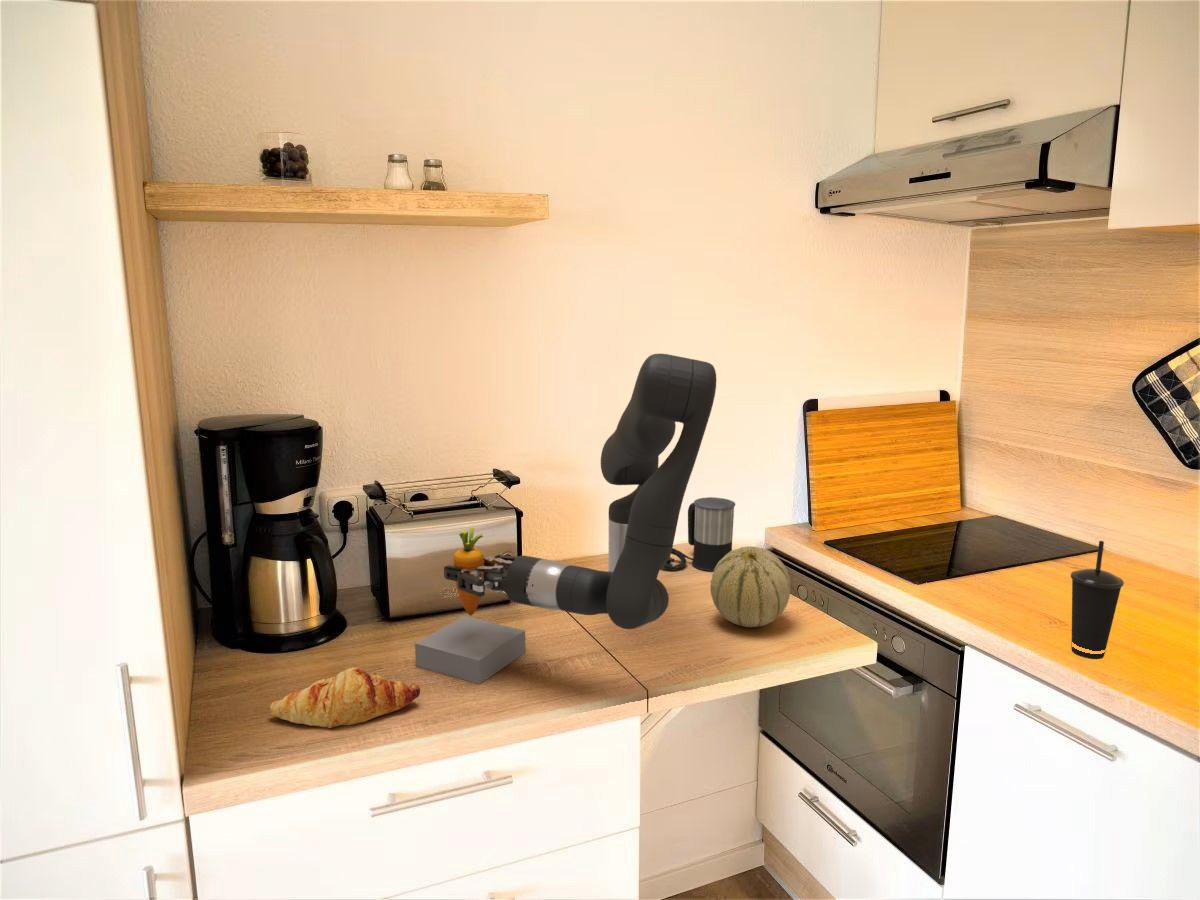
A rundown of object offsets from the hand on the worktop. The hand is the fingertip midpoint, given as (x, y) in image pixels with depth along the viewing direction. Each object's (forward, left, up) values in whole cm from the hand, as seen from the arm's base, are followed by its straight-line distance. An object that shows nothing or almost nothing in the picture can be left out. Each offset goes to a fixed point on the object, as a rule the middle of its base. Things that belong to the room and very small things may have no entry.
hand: (456, 567), depth 134 cm
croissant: (+23, -3, -16) cm, 28 cm away
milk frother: (-62, +18, -16) cm, 67 cm away
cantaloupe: (-37, +39, -16) cm, 56 cm away
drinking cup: (-53, +94, -16) cm, 109 cm away
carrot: (0, +3, -8) cm, 9 cm away
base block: (0, +3, -16) cm, 16 cm away
